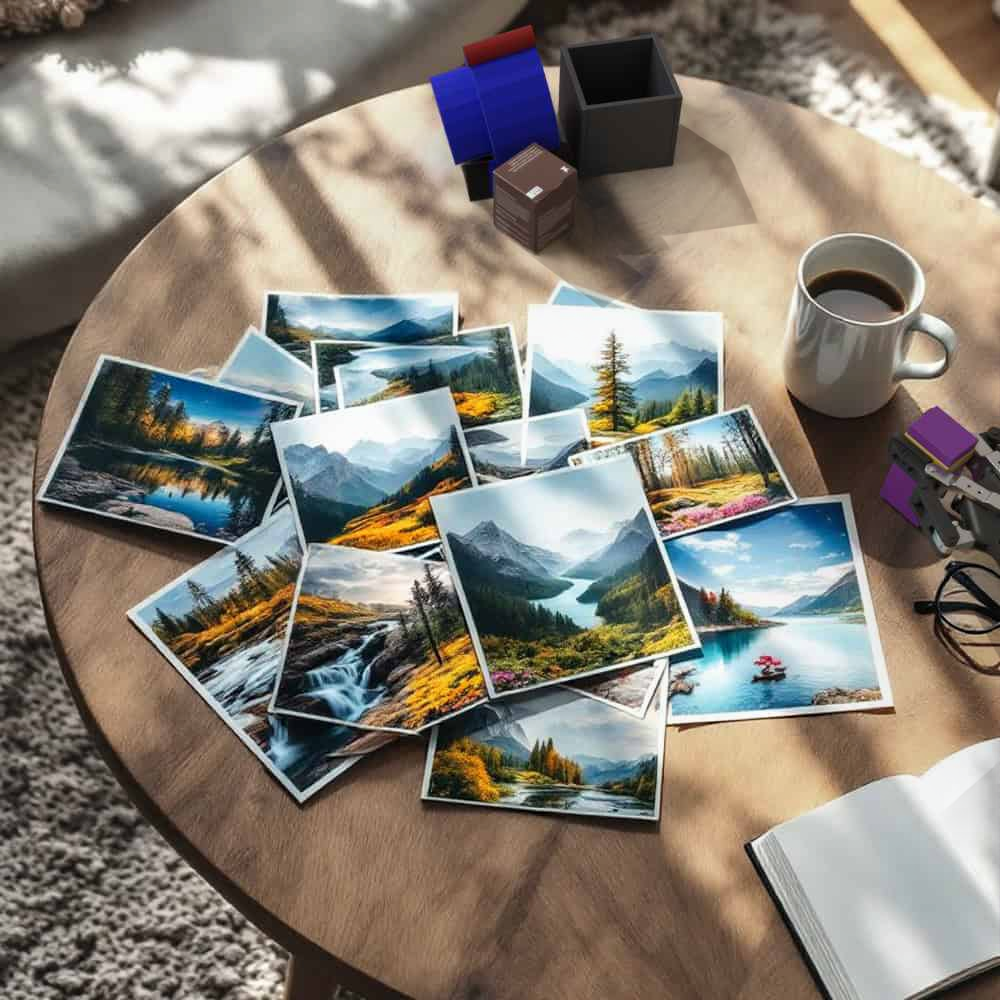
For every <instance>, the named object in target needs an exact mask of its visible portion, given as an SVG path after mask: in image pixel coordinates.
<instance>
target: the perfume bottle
mask: <svg viewBox="0 0 1000 1000" xmlns="http://www.w3.org/2000/svg"><path fill="white" fill-rule="evenodd" d="M932 408H933V409H931V410H930V411H928V412H927V413H926V414H924V413H923V414H924V415H923V414H922V416H920V417H918V418H917V419H915V421H913V422H912V423H910V424H909V426H908V429H907V430H906V432H905V433H904V435H905V436H906V437H907V438H908V439H910V440H911V441H912V442H913V443H914V444H916V445H917V446H918V447H919V448H920V449H921V450H923V451H924V452H925V453H926V454H927V455H929V456H930V457H931V458H932V459H933V460H932V462H931V463H935V464H937V465H939V466H940V467H942V468H944V469H945V470H947V471H949V472H950V473H952V474H954V475H962V473H963V471H964V469H965V467H966V464H967V462H968V460H969V459H970V458H971V456H972V454H973V452H974V451H975V447H976V445H977V443H978V441H979V439H977V438H976V437H975V436H974V435H972V434H971V433H972V432H970V431H969V430H968V429H966V428H965V427H964V426H963V425H961V424H960V423H959V422H958V421H957V420H956V419H955V418H953V417H952V416H950V415H949V413H947V412H946V411H944V410H943V409H942V407H940V406H938V405H935V406H934V407H932ZM915 485H916V482H915V480H914V479H913V478H912V477H911V476H909V475H908V474H907V473H906V472H905V471H904V470H902V469H901V467H899V466H898V465H897V464H895V463H894V462H893V461H892V465H891V467H890V469H889V471H888V474H887V475H886V477H885V480H884V482H883V485H882V487H881V489H880V492H879V495H880V496H881V497H882V498H883V499H884V500H885V501H887V502H888V503H889V504H890V505H891V506H892V507H893V508H894V509H896V510H897V511H898V512H899V513H900V514H901V515H902V516H904V517H905V519H908V521H909V522H910V523H912V525H913V526H915V527H916V528H920V527H921V526H920V524H919V522H918V520H917V519H916V517H915V515H914V513H913V511H912V510H911V508H910V506H909V504H908V499H909V497H910V496H911V494H912V492H913V490H914V488H915Z"/></svg>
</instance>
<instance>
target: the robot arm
mask: <svg viewBox="0 0 1000 1000" xmlns="http://www.w3.org/2000/svg"><path fill="white" fill-rule="evenodd" d="M933 408H934V407H930V408H929V409H927V410H926V411H924V412H923V414H922V416H923V415H924V414H926V413H927V412H928V411H930V410H931V409H933ZM970 433H971V434H972V435H974V436H975V437H976V438H977V439H979V441H978V443H977V445H976V447H975V451H974V452H973V454H972V456H971V458H970V459H969V460H968V462H967V464H966V466H965V467H966V469H967V470H968V471H969V472H970V474H971V478H969V477H966V475H963V474H961V475H954V474H952V473H950V472H949V471H947V470H945V469H944V468H942V467H940V466H939V465H937V464H935V463H931V462H932V460H933V459H932V458H931V457H930V456H929V455H927V454H926V453H925V452H924V451H923V450H921V449H920V448H919V447H918V446H917V445H916V444H914V443H913V442H912V441H911V440H910V439H908V438H907V437H906V436H905V433H903V432H901V431H897V432H895V433H894V434H893V435H891V436H890V437H889V440H888V442H887V445H886V450H887V452H888V453H887V455H888V457H889V459H890V460H891V461H892V463H893V462H894V463H895V464H897V465H898V466H899V467H901V469H902V470H904V471H905V472H906V473H907V474H908V475H909V476H911V477H912V478H913V479H914V480H915V482H916V485H915V488H914V490H913V492H912V494H911V496H910V497H909V499H908V504H909V506H910V508H911V510H912V511H913V513H914V515H915V517H916V519H917V520H918V522H919V524H920V526H919V527H920V528H921V530H922V532H923V534H924V535H925V537H926V539H927V541H928V543H929V544H930V546H931V548H932V550H933V552H934V554H935V555H936V557H938V558H939V559H949V557H951V555H952V553H953V552H955V551H958V550H963V549H967V548H972V549H973V550H976V551H978V552H981V553H983V554H986V555H988V556H989V557H991V558H992V559H993V560H994V562H995V563H996V565H997V567H998V569H999V570H1000V427H998V426H990V427H989V428H988V429H987V430H986V431H984V432H980V433H976V432H970ZM960 494H961V495H962V496H961V497H960V498H959V495H960ZM949 514H950V515H952V516H954V517H955V518H957V519H958V520H960V521H961V522H962V525H963V528H962V527H961V525H959V524H960V523H959V521H958V520H952V519H951V517H950V515H949Z"/></svg>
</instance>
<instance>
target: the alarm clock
mask: <svg viewBox="0 0 1000 1000" xmlns="http://www.w3.org/2000/svg"><path fill="white" fill-rule="evenodd" d="M461 48H462V54H463V58H464V59H463V60H464V62H465V65H464V66H460V67H458V68H454V69H451V70H449V71H448V70H447V71H444V72H442V73H438V74H436V75H432V76H429V81H430V82H429V83H430V85H431V89H432V93H433V97H434V100H435V103H436V107H437V109H438V113H439V117H440V120H441V123H442V127H443V131H444V133H445V137H446V140H447V144H448V146H449V150H450V153H451V157H452V160H453V163H454V166H459V165H461V164H463V165H461V169H462V173H463V177H464V182H465V186H466V190H467V195H468V200H469V202H476V201H481V200H488V199H493V171H494V170H495V169H497V168H498V167H500V166H501V165H502V164H504V163H505V162H507V161H508V160H510V159H511V158H512V157H514V156H515V155H517V154H518V153H520V152H521V151H522V150H524V149H525V148H527V147H528V146H530V145H531V144H532V143H534V142H535V143H537V144H538V145H540V146H541V147H543V148H544V149H546V150H547V151H549V152H550V153H552V154H553V155H555V156H556V157H558V152H557V149H559V148H560V147H561V139H560V132H559V126H558V125H559V124H558V121H557V116H556V111H555V107H554V103H553V99H552V95H551V91H550V87H549V84H548V80H547V77H546V72H545V69H544V65H543V63H542V60H541V56H540V53H539V50H538V48H537V40H536V36H535V32H534V29H533V26H532V25H531V24H529V25H526V26H523V27H519V28H516V29H513V30H510V31H507V32H502V33H501V34H497V35H493V36H490V37H487V38H483V39H481V40H478V41H475V42H471V43H467V44H465V45H462V46H461ZM487 156H491V157H492V159H490V160H483V161H478V162H471V163H468V162H470V161H474V160H477V159H480V158H481V159H482V158H484V157H487Z"/></svg>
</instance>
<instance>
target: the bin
mask: <svg viewBox="0 0 1000 1000" xmlns="http://www.w3.org/2000/svg"><path fill="white" fill-rule="evenodd" d="M559 56H560V57H559V78H558V79H559V80H558V82H559V83H558V101H557V102H558V103H557V116H558V120H559V122H560V125H561V128H562V131H563V135H564V138H565V141H566V144H567V147H568V151H569V153H570V157H571V159H572V162H573V165H574V169H576V170H577V171H578V173H577V179H585V178H592V177H599V176H605V175H613V174H614V175H615V174H620V173H621V174H622V173H627V172H635V171H643V170H649V169H657V168H664V167H671V166H672V167H673V166H674V163H675V156H676V155H675V154H676V148H677V142H678V141H677V140H678V133H679V129H680V128H679V126H680V119H681V113H682V112H681V111H682V105H683V98H684V97H683V93H682V91H681V89H680V86H679V84H678V82H677V79H676V76H675V74H674V72H673V70H672V67H671V64H670V62H669V60H668V57H667V55H666V52H665V50H664V47H663V45H662V42H661V40H660V38H659V36H658V33H651V34H650V33H649V34H642V35H635V36H634V35H633V36H626V37H618V38H609V39H603V40H602V39H601V40H594V41H585V42H578V43H572V44H571V43H570V44H563V45H560V54H559Z"/></svg>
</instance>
